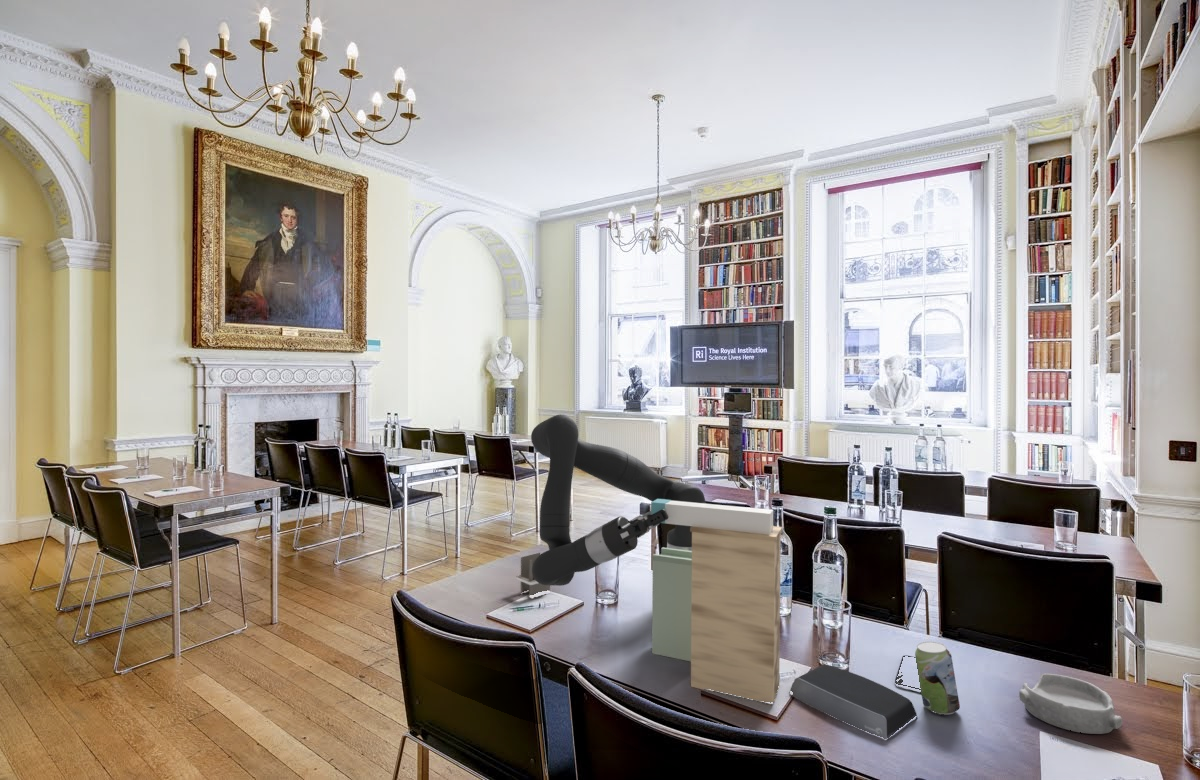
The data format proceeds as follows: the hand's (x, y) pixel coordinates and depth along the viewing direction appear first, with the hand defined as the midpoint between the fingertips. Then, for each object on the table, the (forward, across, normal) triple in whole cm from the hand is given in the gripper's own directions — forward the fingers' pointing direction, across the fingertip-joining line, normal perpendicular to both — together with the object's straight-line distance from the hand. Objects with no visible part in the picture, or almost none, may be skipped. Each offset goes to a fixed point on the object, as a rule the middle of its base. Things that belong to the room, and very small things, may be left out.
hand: (672, 509), depth 124 cm
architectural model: (-61, +29, +5) cm, 68 cm away
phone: (+23, +22, +54) cm, 63 cm away
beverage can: (+25, +9, +55) cm, 61 cm away
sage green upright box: (-18, +11, +29) cm, 36 cm away
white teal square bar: (+6, 0, +6) cm, 8 cm away
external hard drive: (+12, +3, +48) cm, 49 cm away
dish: (+44, +17, +66) cm, 81 cm away
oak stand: (-6, +1, +36) cm, 37 cm away
